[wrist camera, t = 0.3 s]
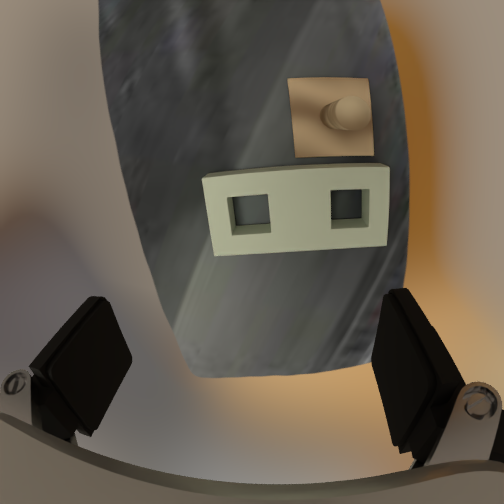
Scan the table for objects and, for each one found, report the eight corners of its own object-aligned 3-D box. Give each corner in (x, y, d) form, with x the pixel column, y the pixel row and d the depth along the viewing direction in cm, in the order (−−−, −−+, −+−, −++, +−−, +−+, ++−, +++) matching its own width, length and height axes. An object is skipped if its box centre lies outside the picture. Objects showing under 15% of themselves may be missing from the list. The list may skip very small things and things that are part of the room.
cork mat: (287, 79, 30) (287, 78, 29) (367, 79, 28) (368, 78, 28) (295, 157, 34) (295, 157, 33) (372, 155, 33) (373, 155, 32)
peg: (318, 103, 30) (334, 95, 21) (344, 103, 30) (369, 96, 21) (321, 129, 32) (337, 130, 22) (346, 128, 31) (372, 130, 22)
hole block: (208, 173, 36) (201, 178, 32) (380, 162, 33) (389, 167, 30) (219, 245, 40) (214, 256, 37) (378, 235, 37) (386, 245, 34)
